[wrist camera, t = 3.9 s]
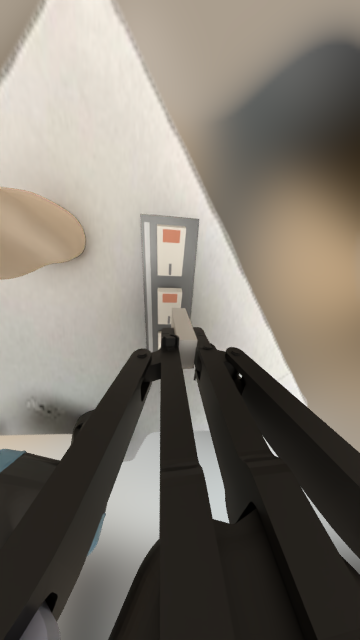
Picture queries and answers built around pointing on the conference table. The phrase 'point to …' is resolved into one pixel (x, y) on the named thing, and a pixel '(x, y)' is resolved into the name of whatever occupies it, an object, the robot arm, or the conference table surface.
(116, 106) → the conference table surface
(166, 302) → the rocker
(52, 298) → the conference table surface
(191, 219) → the power strip
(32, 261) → the water bottle
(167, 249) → the rocker
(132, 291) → the conference table surface
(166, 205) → the conference table surface
